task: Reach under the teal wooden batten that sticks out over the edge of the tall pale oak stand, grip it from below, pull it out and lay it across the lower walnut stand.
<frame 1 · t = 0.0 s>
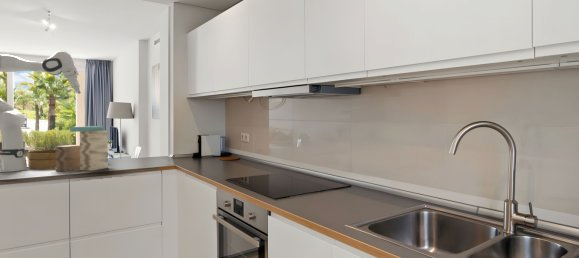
hand: (78, 93, 237), 52 cm above the worktop, tool tilted 20°, fingers open, 8 cm apart
low stand: (70, 169, 227), on the worktop
wooden planter box: (49, 166, 242), on the worktop
batten: (87, 131, 225), point 26 cm above the worktop, touching tall stand
tall stand: (94, 168, 231), on the worktop
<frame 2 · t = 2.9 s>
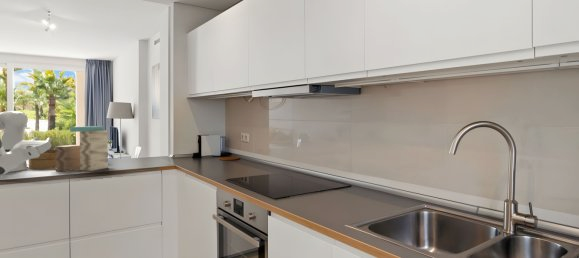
hand: (44, 138, 196), 23 cm above the worktop, tool pointing upward, fingers open, 8 cm apart
nothing on the worktop moved.
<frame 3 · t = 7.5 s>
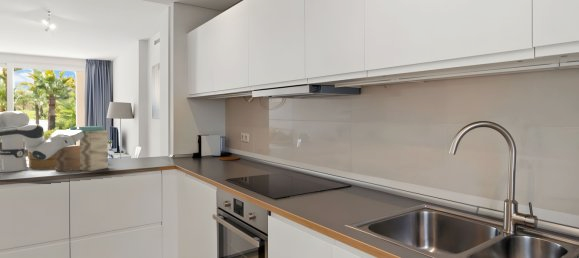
hand: (76, 128, 217), 28 cm above the worktop, tool pointing upward, fingers closed on batten, 3 cm apart
batten: (87, 131, 225), point 26 cm above the worktop, touching gripper, tall stand
everything else where it was.
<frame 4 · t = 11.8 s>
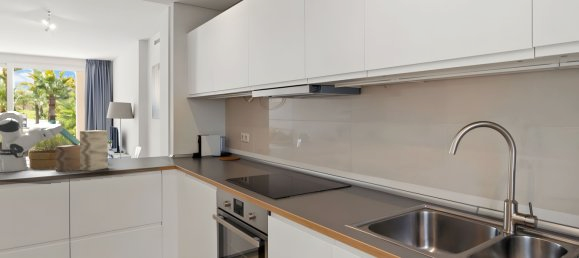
hand: (55, 122, 216), 32 cm above the worktop, tool pointing upward, fingers closed on batten, 3 cm apart
batten: (63, 135, 222), point 23 cm above the worktop, tilted 38°, touching gripper, low stand
everything else where it was.
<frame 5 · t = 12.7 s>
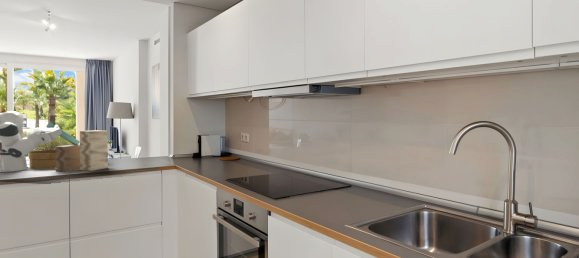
hand: (55, 125, 216), 30 cm above the worktop, tool pointing upward, fingers closed on batten, 3 cm apart
batten: (62, 136, 221), point 22 cm above the worktop, tilted 32°, touching gripper
everything else where it was.
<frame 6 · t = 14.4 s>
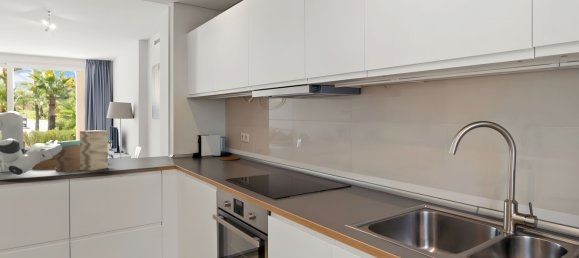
hand: (55, 141, 217), 20 cm above the worktop, tool pointing upward, fingers closed on batten, 3 cm apart
batten: (64, 146, 222), point 16 cm above the worktop, touching gripper, low stand
everything else where it was.
when the fingers open (20 cm above the worktop, at t = 14.6 s): batten stays where it is, resting on low stand.
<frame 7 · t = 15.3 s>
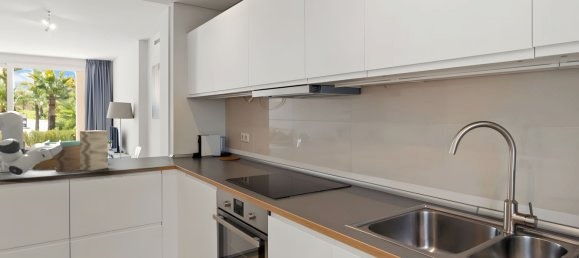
hand: (55, 141, 217), 19 cm above the worktop, tool pointing upward, fingers open, 8 cm apart
batten: (64, 146, 222), point 16 cm above the worktop, touching low stand
everything else where it was.
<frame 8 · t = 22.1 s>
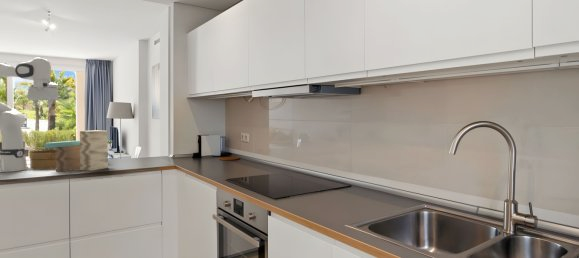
hand: (43, 107, 207), 41 cm above the worktop, tool pointing down, fingers open, 8 cm apart
at the end: batten inside the target area (2.8 cm from its centre), point 16.0 cm above the worktop; batten touching low stand; the gripper is holding nothing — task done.
